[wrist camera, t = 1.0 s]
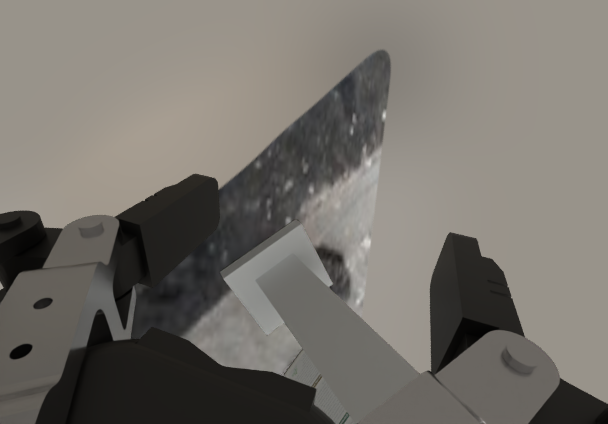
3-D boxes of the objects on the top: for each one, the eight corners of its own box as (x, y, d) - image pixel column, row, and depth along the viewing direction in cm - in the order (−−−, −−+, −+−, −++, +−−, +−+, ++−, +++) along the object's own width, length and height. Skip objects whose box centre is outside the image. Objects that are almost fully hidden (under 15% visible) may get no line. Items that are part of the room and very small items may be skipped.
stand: (234, 349, 38) (493, 954, 11) (186, 295, 33) (447, 1153, 6) (338, 269, 42) (713, 575, 15) (309, 209, 37) (794, 511, 10)
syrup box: (282, 375, 43) (343, 484, 31) (308, 339, 43) (379, 434, 31) (309, 384, 46) (375, 487, 34) (334, 350, 46) (407, 441, 34)
